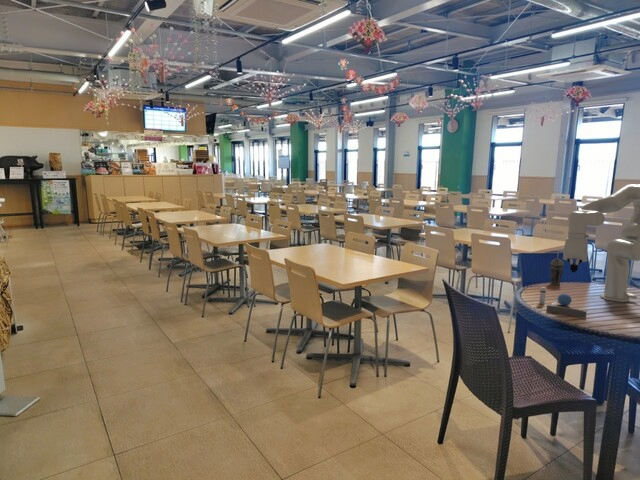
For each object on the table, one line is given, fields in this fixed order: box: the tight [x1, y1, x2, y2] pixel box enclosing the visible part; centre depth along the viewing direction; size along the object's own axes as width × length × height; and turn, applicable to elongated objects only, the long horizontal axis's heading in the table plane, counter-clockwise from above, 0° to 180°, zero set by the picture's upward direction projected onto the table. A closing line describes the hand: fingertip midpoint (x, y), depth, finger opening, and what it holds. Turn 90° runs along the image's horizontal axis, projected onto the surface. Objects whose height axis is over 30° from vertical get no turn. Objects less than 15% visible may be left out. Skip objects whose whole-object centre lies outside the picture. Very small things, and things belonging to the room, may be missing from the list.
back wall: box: [546, 304, 588, 319], centre depth 201 cm, size 16×2×3 cm, turn 53°
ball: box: [557, 293, 572, 307], centre depth 214 cm, size 6×6×6 cm
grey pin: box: [538, 286, 547, 306], centre depth 216 cm, size 2×2×8 cm
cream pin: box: [548, 301, 559, 306], centre depth 210 cm, size 2×2×8 cm
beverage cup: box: [549, 250, 565, 286], centre depth 255 cm, size 7×7×20 cm
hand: (573, 271), depth 218 cm, fingers closed
